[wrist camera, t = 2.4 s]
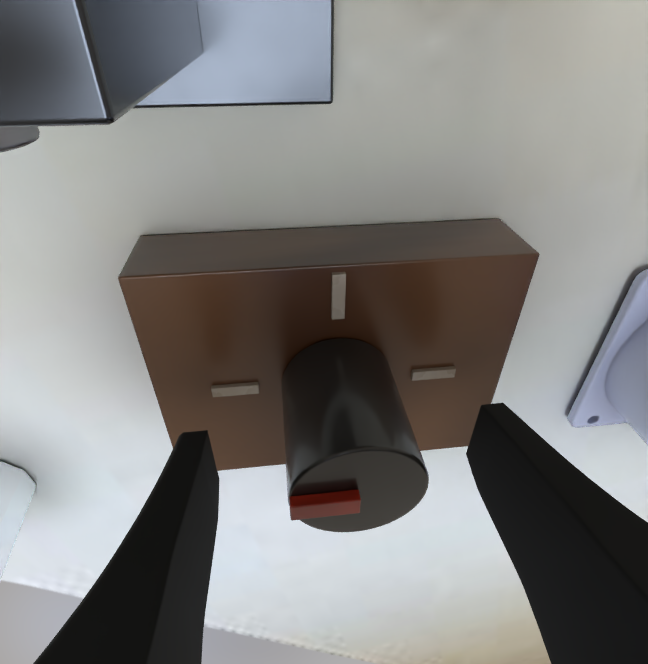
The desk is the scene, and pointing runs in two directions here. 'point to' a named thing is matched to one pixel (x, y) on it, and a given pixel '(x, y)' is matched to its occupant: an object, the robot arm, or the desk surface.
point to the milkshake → (12, 507)
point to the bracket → (156, 58)
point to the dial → (348, 439)
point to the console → (324, 321)
